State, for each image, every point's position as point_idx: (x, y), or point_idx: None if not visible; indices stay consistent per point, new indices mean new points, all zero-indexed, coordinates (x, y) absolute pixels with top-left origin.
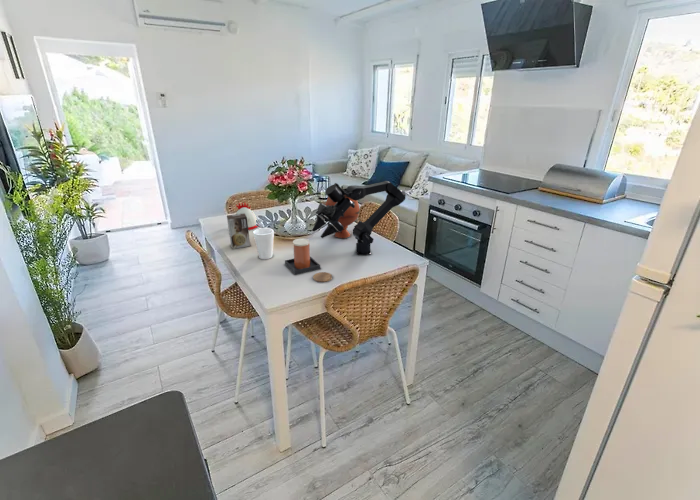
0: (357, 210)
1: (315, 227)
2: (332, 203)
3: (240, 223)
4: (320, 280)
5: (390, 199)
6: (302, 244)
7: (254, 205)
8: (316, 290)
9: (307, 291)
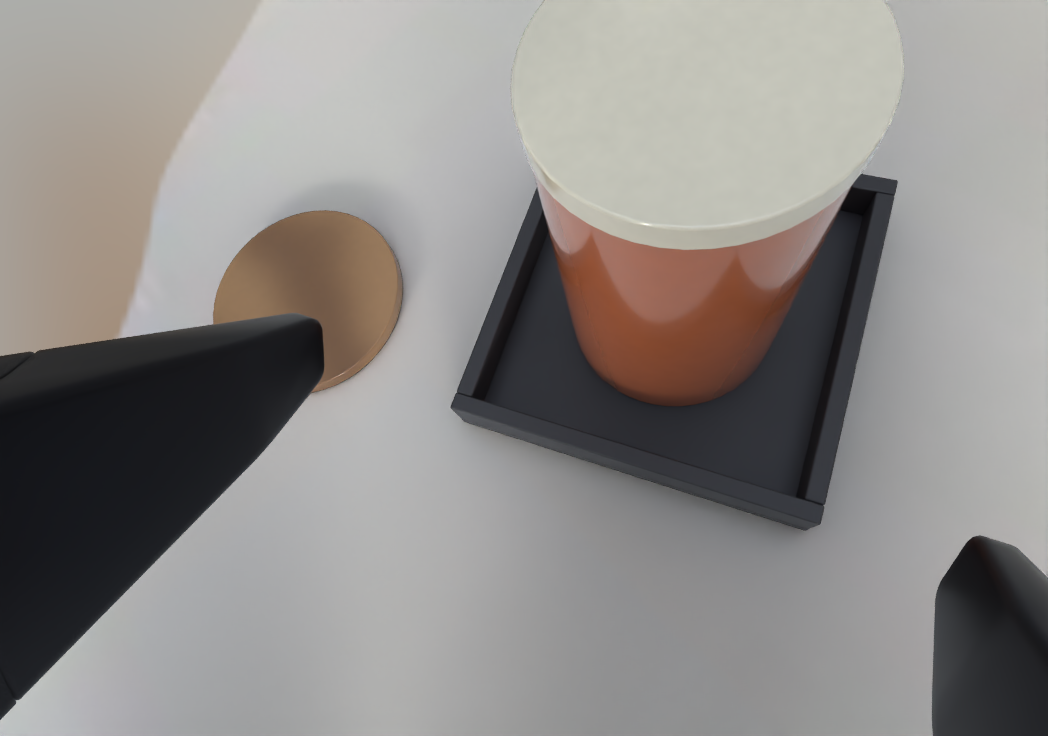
0: None
1: (1011, 690)
2: None
3: None
4: (272, 232)
5: None
6: (543, 4)
7: None
8: (222, 131)
9: (271, 76)
